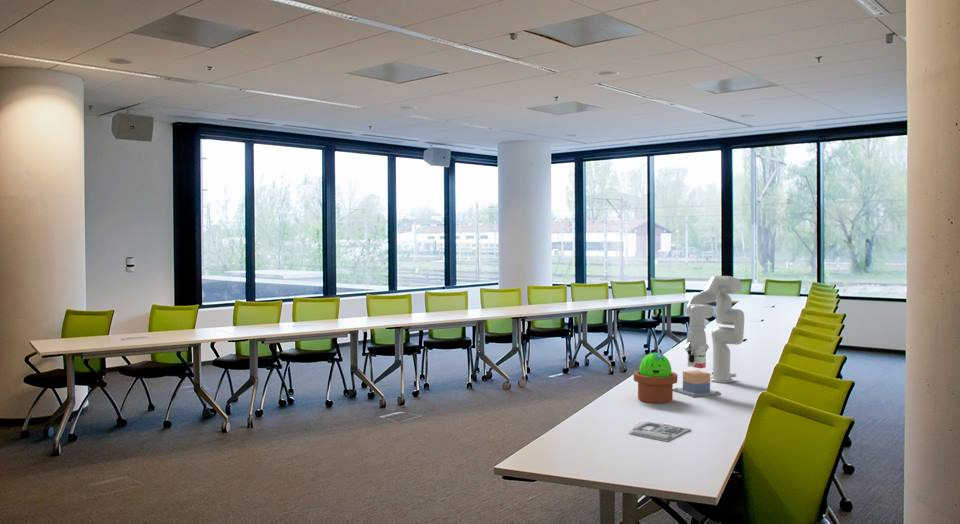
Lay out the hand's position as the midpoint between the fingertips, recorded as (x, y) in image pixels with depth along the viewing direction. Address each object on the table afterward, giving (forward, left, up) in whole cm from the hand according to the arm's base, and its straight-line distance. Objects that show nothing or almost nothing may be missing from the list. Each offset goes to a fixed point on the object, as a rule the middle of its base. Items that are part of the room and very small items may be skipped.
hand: (696, 361), depth 394 cm
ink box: (0, 0, -3) cm, 3 cm away
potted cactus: (+31, +6, -17) cm, 36 cm away
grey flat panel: (+68, +59, -18) cm, 92 cm away
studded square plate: (0, 0, -17) cm, 17 cm away
